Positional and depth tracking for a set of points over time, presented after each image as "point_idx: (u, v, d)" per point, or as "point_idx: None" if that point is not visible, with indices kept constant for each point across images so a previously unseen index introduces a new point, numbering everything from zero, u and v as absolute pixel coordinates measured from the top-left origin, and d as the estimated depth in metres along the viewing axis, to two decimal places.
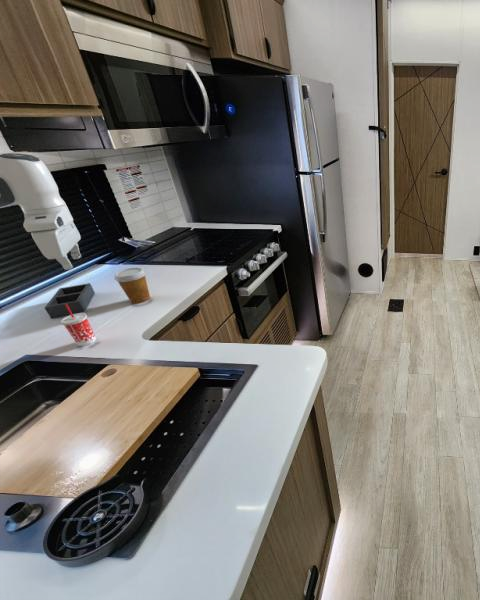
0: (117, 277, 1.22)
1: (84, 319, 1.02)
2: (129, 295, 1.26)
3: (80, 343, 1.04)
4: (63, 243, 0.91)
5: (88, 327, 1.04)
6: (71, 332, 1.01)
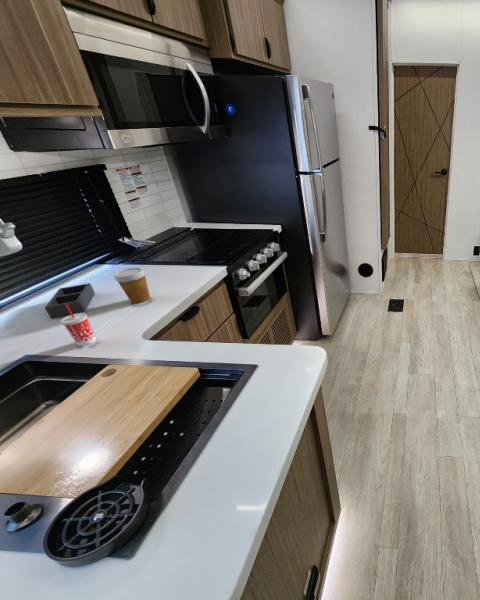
0: (117, 277, 1.22)
1: (84, 319, 1.02)
2: (129, 295, 1.26)
3: (80, 343, 1.04)
4: None
5: (88, 327, 1.04)
6: (71, 332, 1.01)
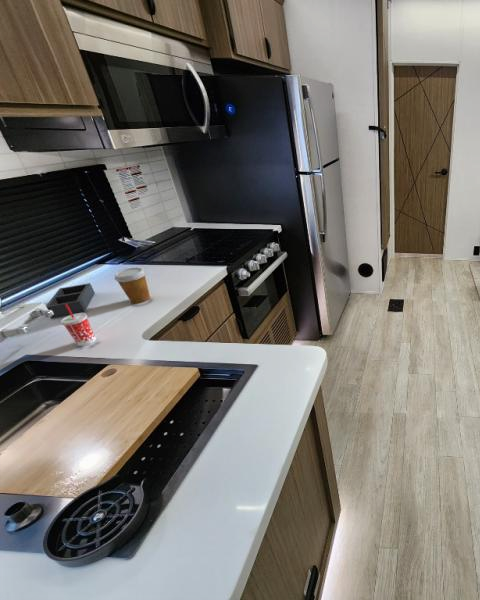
0: (117, 277, 1.22)
1: (84, 319, 1.02)
2: (129, 295, 1.26)
3: (80, 343, 1.04)
4: None
5: (88, 327, 1.04)
6: (71, 332, 1.01)
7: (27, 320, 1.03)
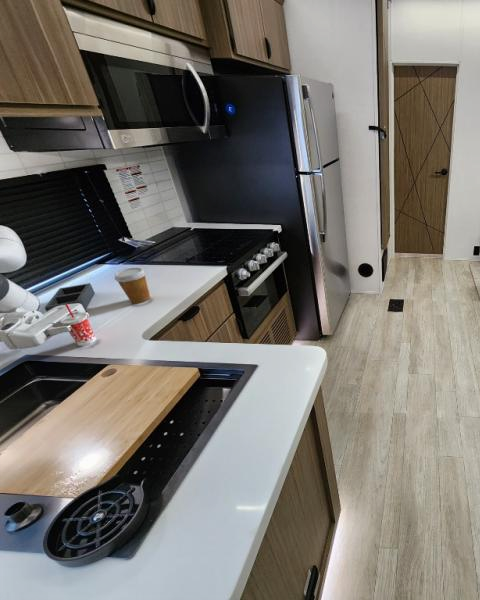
0: (117, 277, 1.22)
1: (84, 319, 1.02)
2: (129, 295, 1.26)
3: (79, 343, 1.03)
4: (33, 329, 0.96)
5: (88, 327, 1.04)
6: (71, 332, 1.01)
7: None
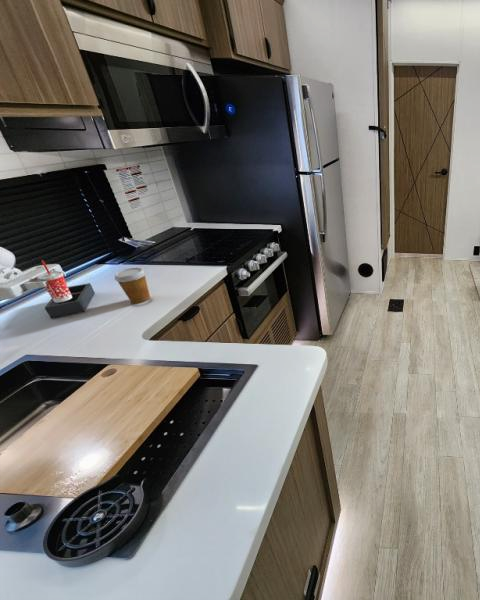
0: (117, 277, 1.22)
1: (60, 276, 1.08)
2: (129, 295, 1.26)
3: (56, 299, 1.09)
4: (10, 282, 1.02)
5: (64, 284, 1.10)
6: (47, 288, 1.07)
7: None
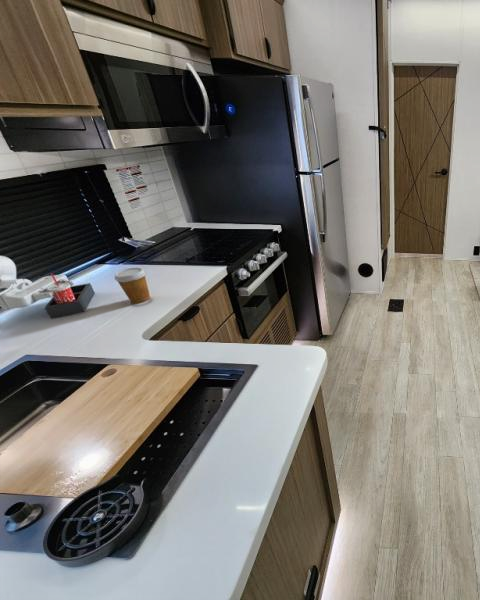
0: (117, 277, 1.22)
1: (67, 287, 1.20)
2: (129, 295, 1.26)
3: None
4: (23, 292, 1.14)
5: (71, 295, 1.22)
6: (56, 298, 1.19)
7: None
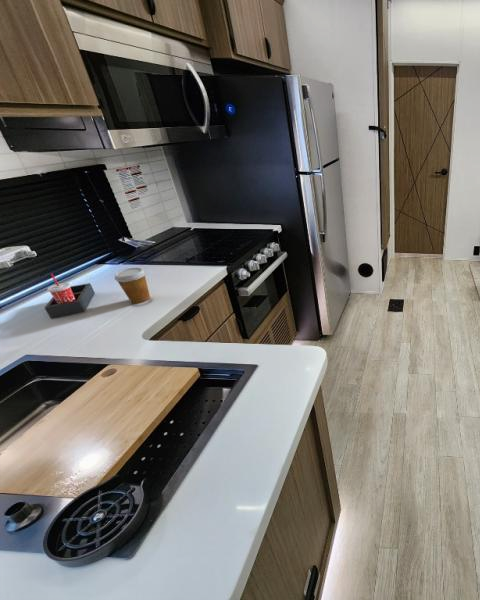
0: (117, 277, 1.22)
1: (67, 287, 1.20)
2: (129, 295, 1.26)
3: None
4: None
5: (71, 295, 1.22)
6: (56, 298, 1.19)
7: (12, 259, 1.16)
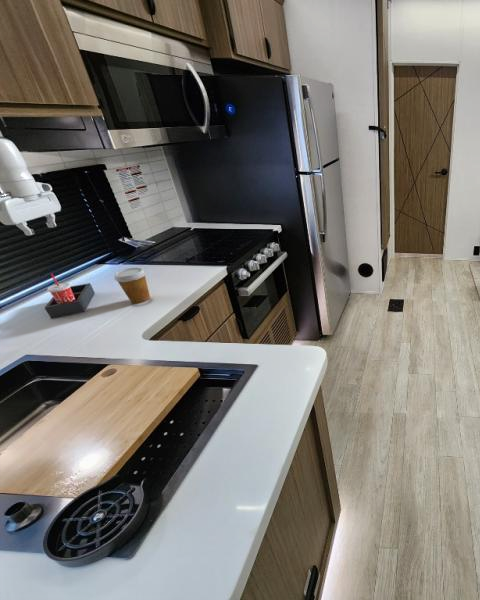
0: (117, 277, 1.22)
1: (67, 287, 1.20)
2: (129, 295, 1.26)
3: None
4: None
5: (71, 295, 1.22)
6: (56, 298, 1.19)
7: None
